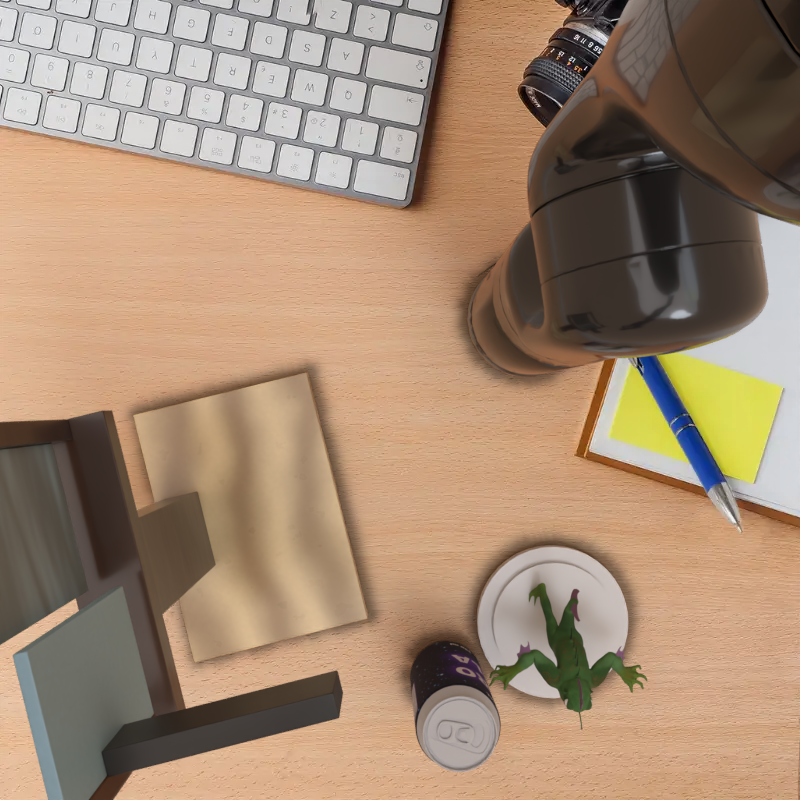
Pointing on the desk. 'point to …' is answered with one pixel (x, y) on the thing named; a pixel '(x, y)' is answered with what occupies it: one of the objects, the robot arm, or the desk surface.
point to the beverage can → (453, 707)
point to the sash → (136, 706)
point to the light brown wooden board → (257, 514)
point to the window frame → (93, 538)
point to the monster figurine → (554, 625)
